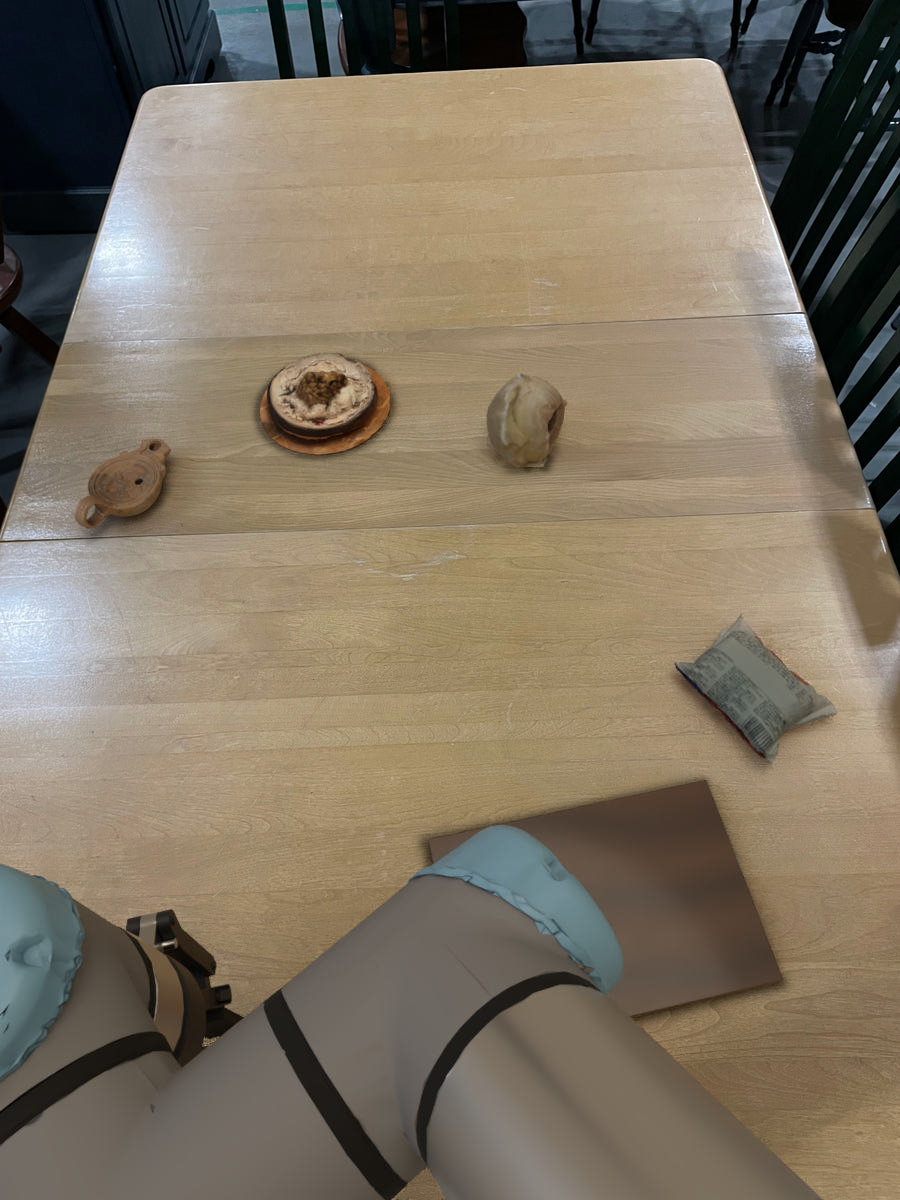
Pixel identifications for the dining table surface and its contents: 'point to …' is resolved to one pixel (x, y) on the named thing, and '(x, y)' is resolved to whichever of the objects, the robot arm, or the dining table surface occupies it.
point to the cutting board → (660, 893)
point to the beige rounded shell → (525, 420)
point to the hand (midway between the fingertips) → (229, 1063)
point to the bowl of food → (324, 404)
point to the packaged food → (754, 689)
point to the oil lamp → (125, 484)
